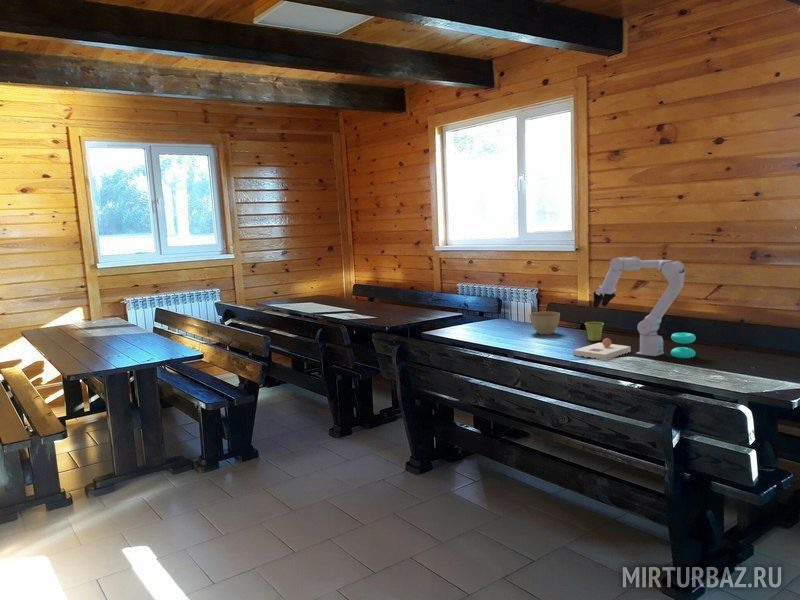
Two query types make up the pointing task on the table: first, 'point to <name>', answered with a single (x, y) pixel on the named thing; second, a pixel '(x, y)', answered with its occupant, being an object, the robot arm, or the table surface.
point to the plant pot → (594, 330)
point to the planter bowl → (545, 322)
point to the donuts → (682, 351)
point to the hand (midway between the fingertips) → (599, 306)
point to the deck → (602, 351)
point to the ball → (606, 342)
